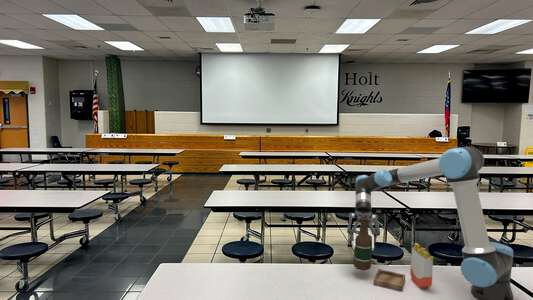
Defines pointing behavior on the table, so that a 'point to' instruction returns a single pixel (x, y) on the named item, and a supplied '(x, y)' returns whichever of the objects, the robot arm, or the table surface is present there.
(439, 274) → the table surface
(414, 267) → the french fries container
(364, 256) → the beer bottle
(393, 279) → the wooden tray
